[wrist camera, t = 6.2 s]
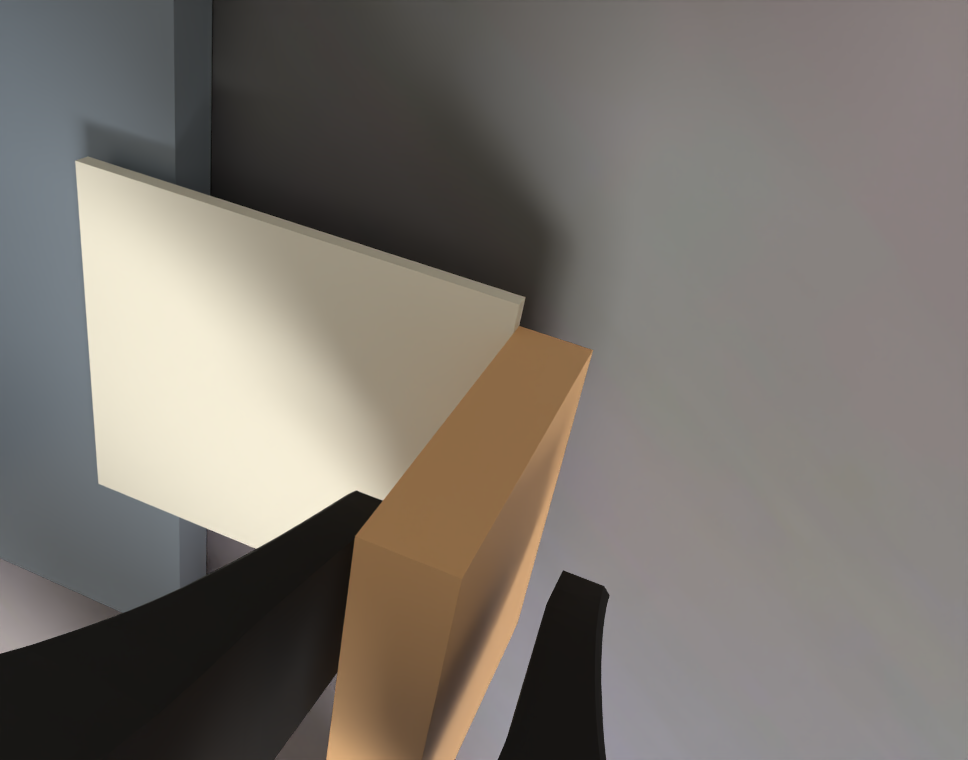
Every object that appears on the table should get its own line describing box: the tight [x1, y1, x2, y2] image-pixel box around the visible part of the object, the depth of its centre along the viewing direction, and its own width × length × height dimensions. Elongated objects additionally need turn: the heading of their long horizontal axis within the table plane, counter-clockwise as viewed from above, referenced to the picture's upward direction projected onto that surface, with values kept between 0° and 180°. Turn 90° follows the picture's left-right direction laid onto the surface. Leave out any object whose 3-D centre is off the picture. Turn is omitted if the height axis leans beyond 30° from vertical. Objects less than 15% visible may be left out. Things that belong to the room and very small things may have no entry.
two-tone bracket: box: [75, 157, 593, 760], centre depth 14 cm, size 9×7×6 cm
